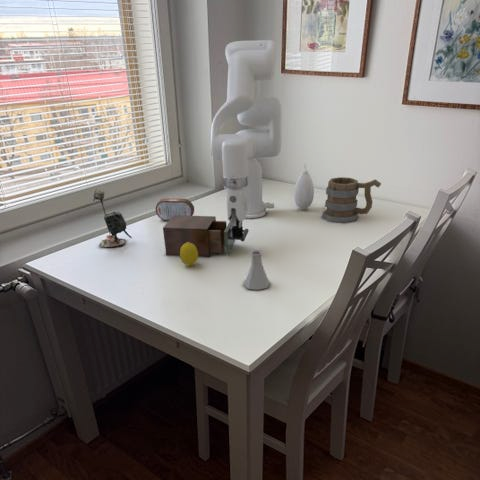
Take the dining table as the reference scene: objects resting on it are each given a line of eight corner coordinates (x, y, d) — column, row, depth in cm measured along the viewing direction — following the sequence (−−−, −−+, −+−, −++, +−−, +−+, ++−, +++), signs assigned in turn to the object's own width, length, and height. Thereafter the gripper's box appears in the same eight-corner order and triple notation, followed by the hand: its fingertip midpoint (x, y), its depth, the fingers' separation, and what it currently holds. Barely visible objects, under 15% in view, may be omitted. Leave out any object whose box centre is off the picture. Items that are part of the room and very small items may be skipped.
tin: (195, 218, 183) (193, 197, 179) (193, 221, 180) (191, 200, 176) (158, 218, 185) (155, 197, 180) (156, 221, 182) (153, 200, 178)
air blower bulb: (315, 207, 191) (318, 162, 181) (309, 213, 185) (311, 166, 175) (297, 205, 194) (298, 160, 184) (291, 211, 188) (292, 165, 178)
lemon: (201, 263, 146) (199, 239, 142) (194, 270, 142) (192, 246, 138) (185, 261, 148) (183, 238, 144) (178, 268, 144) (175, 244, 139)
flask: (243, 280, 136) (242, 248, 130) (267, 278, 136) (267, 246, 131) (245, 291, 129) (244, 258, 124) (271, 289, 130) (271, 256, 125)
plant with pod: (125, 249, 158) (116, 191, 148) (95, 247, 161) (83, 190, 150) (135, 240, 165) (126, 184, 155) (106, 238, 167) (95, 183, 157)
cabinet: (217, 243, 161) (215, 216, 156) (209, 257, 151) (207, 229, 146) (176, 241, 163) (174, 215, 158) (166, 255, 153) (162, 227, 148)
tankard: (320, 220, 177) (322, 181, 169) (327, 210, 187) (330, 172, 179) (373, 226, 170) (378, 185, 162) (378, 215, 180) (383, 176, 172)
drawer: (249, 242, 158) (249, 220, 154) (244, 255, 149) (243, 232, 145) (196, 240, 161) (195, 218, 157) (188, 253, 152) (186, 230, 148)
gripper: (243, 189, 135) (244, 247, 145) (251, 176, 148) (252, 230, 157) (218, 188, 137) (221, 246, 146) (228, 175, 149) (231, 230, 159)
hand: (237, 238), depth 152 cm, fingers closed
